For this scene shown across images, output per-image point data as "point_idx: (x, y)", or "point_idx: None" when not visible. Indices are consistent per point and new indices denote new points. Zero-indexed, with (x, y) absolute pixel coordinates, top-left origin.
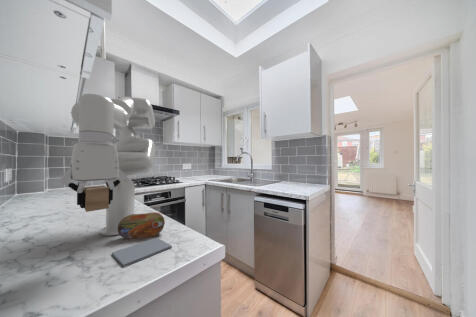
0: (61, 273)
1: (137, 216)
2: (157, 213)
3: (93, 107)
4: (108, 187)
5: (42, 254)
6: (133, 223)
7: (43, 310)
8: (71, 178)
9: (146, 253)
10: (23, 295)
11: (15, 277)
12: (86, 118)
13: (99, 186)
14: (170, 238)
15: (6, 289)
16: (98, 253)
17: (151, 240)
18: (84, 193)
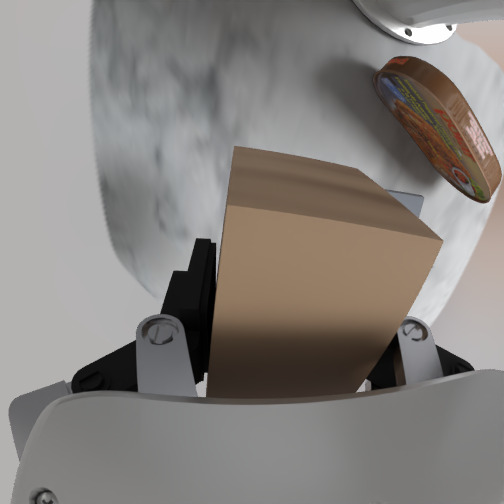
0: (181, 183)
1: (456, 131)
2: (493, 189)
3: None
4: (369, 380)
5: None
6: (429, 115)
7: (158, 297)
8: (54, 411)
9: None
10: (126, 224)
11: (105, 114)
12: None
13: (348, 340)
14: (435, 225)
15: (99, 168)
16: (279, 131)
17: (404, 204)
18: (201, 375)
